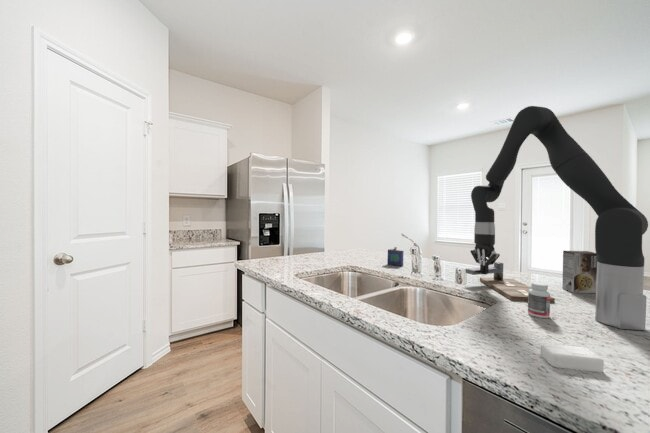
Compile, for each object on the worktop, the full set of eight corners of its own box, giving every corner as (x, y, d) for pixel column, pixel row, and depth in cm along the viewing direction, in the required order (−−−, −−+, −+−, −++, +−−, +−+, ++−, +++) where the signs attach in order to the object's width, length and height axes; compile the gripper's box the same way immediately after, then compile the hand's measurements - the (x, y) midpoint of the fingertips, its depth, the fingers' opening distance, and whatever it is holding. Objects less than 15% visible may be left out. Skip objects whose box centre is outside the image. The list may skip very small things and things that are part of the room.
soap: (585, 360, 60) (586, 346, 60) (605, 374, 55) (605, 359, 55) (538, 355, 62) (539, 341, 62) (553, 368, 57) (553, 354, 57)
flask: (403, 265, 160) (404, 247, 160) (402, 266, 157) (402, 247, 157) (388, 264, 164) (388, 246, 164) (386, 265, 162) (386, 246, 162)
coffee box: (584, 289, 115) (586, 250, 115) (598, 294, 109) (600, 253, 108) (561, 288, 116) (562, 250, 115) (573, 293, 109) (574, 252, 109)
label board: (554, 302, 97) (554, 297, 97) (511, 300, 99) (511, 295, 99) (512, 282, 125) (512, 278, 125) (479, 280, 127) (479, 277, 127)
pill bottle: (551, 319, 82) (552, 287, 81) (529, 316, 84) (529, 284, 84) (547, 314, 86) (548, 283, 86) (526, 310, 89) (527, 280, 89)
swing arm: (473, 282, 116) (473, 265, 116) (465, 280, 120) (465, 264, 120) (505, 279, 123) (505, 263, 123) (497, 277, 126) (497, 261, 126)
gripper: (465, 232, 121) (464, 271, 121) (491, 234, 109) (491, 278, 109) (478, 232, 124) (478, 270, 124) (505, 233, 111) (505, 276, 111)
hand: (484, 274), depth 116 cm, fingers closed
